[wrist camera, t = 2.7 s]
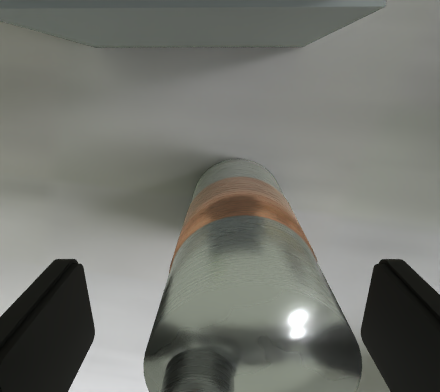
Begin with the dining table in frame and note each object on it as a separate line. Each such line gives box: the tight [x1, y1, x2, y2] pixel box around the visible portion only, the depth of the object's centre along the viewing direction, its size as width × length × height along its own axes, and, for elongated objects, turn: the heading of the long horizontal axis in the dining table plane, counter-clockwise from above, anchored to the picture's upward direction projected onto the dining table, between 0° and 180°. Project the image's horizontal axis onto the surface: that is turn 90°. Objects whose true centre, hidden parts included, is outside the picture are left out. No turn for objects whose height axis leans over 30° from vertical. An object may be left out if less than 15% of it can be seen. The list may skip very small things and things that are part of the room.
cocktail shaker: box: [144, 159, 362, 392], centre depth 11 cm, size 5×5×13 cm
